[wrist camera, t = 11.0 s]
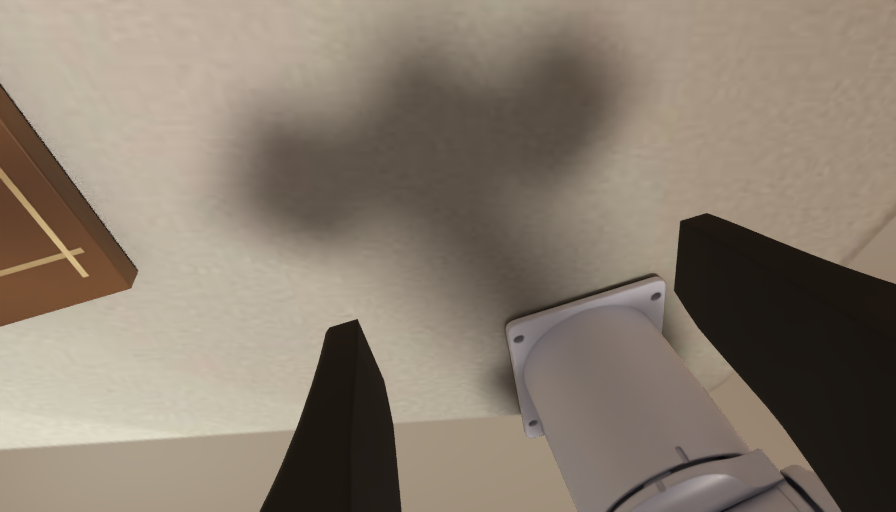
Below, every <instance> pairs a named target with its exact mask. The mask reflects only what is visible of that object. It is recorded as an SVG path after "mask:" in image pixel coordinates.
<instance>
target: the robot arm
mask: <svg viewBox="0 0 896 512" xmlns="http://www.w3.org/2000/svg"><path fill="white" fill-rule="evenodd" d="M665 287H666V285H665V282H664V281H663V280H662V279H661V278H660V277H651V278H648V279H645V280H642V281H638V282H635V283H632V284H629V285H626V286H622V287H619V288H616V289H613V290H609V291H606V292H603V293H600V294H596V295H593V296H590V297H587V298H583V299H580V300H577V301H574V302H570V303H567V304H564V305H561V306H557V307H554V308H551V309H548V310H544V311H541V312H538V313H535V314H531V315H528V316H525V317H522V318H518V319H515V320H513V321H511V322H509V323H508V324H507V326H506V335H507V341H508V346H509V351H510V357H511V362H512V367H513V373H514V378H515V383H516V389H517V394H518V399H519V404H520V410H521V415H522V420H523V425H524V431H525V433H526V436H527V437H529V438H536V437H539V436H542V435H545V436H546V439H547V441H548V443H549V446H550V448H551V450H552V452H553V455H554V457H555V460H556V462H557V464H558V467H559V469H560V471H561V474H562V476H563V478H564V480H565V483H566V485H567V487H568V490H569V492H570V495H571V497H572V499H573V501H574V504H575V506H576V509H577V511H578V512H896V284H894V283H891V282H888V281H884V280H881V279H878V278H875V277H872V276H870V275H867V274H864V273H861V272H858V271H855V270H852V269H849V268H846V267H843V266H841V265H838V264H835V263H833V262H830V261H827V260H824V259H822V258H819V257H817V256H814V255H811V254H809V253H806V252H804V251H801V250H799V249H796V248H794V247H791V246H789V245H786V244H784V243H781V242H779V241H776V240H774V239H771V238H769V237H766V236H764V235H762V234H759V233H757V232H754V231H752V230H749V229H747V228H744V227H742V226H740V225H737V224H735V223H732V222H730V221H727V220H724V219H722V218H719V217H716V216H714V215H711V214H708V213H705V214H702V215H699V216H695V217H692V218H689V219H686V220H682V221H680V230H679V241H678V252H677V263H676V274H675V285H674V291H675V293H676V294H677V296H678V298H679V299H680V301H681V302H682V304H683V306H684V307H685V309H686V310H687V312H688V313H689V315H690V316H691V318H692V319H693V321H694V322H695V324H696V325H697V327H698V328H699V329H700V330H701V332H702V333H703V334H704V335H705V336H706V338H707V339H708V340H709V341H710V342H711V343H712V345H713V346H714V347H715V348H716V349H717V350H718V352H719V353H720V354H721V355H722V356H723V357H724V358H725V360H726V361H727V362H728V363H729V364H730V365H731V366H732V368H733V369H734V370H735V371H736V372H737V373H738V374H739V376H740V377H741V378H742V379H743V380H744V381H745V382H746V383H747V385H748V386H749V387H750V388H751V389H752V390H753V392H754V393H755V394H756V395H757V396H758V397H759V398H760V400H761V401H762V402H763V403H764V404H765V405H766V406H767V408H768V409H769V410H770V411H771V413H772V414H773V415H774V416H775V417H776V419H777V420H778V421H779V422H780V424H781V425H782V426H783V428H784V429H785V430H786V431H787V433H788V435H789V436H790V437H791V439H792V440H793V442H794V443H795V444H796V446H797V447H798V449H799V450H800V451H801V453H802V454H803V456H804V457H805V459H806V460H807V461H808V463H809V464H810V466H811V467H812V468H813V470H814V471H815V472H813V471H810V470H806V469H805V468H803V467H801V466H799V465H790V466H788V467H786V468H784V469H782V470H780V472H779V470H778V469H777V468H776V467H775V465H774V464H773V463H772V462H771V460H770V459H769V458H768V457H767V455H766V454H765V453H764V452H763V450H762V449H756V450H754V451H752V450H751V449H750V448H749V446H748V445H747V444H746V442H745V441H744V440H743V438H742V437H741V436H740V435H739V433H738V432H737V431H736V429H735V428H734V427H733V426H732V424H731V423H730V422H729V421H728V419H727V418H726V416H725V415H724V414H723V413H722V411H721V410H720V409H719V407H718V406H717V405H716V404H715V402H714V401H713V400H712V398H711V397H710V396H709V395H708V393H707V392H706V391H705V389H704V388H703V387H702V386H701V384H700V383H699V382H698V380H697V379H696V378H695V376H694V375H693V374H692V373H691V371H690V370H689V369H688V367H687V366H686V365H685V364H684V362H683V361H682V360H681V358H680V357H679V356H678V355H677V353H676V352H675V351H674V349H673V348H672V347H671V346H670V344H669V343H668V342H667V340H666V339H665V338H664V337H663V335H662V326H663V313H664V300H665ZM518 335H520V336H518ZM516 336H518V337H516ZM260 512H401V501H400V490H399V480H398V468H397V458H396V448H395V437H394V427H393V421H392V416H391V411H390V406H389V401H388V397H387V392H386V387H385V383H384V379H383V377H382V375H381V372H380V370H379V368H378V365H377V363H376V361H375V358H374V356H373V354H372V352H371V349H370V347H369V345H368V342H367V340H366V338H365V335H364V333H363V331H362V328H361V326H360V324H359V321H358V319H356V320H353V321H350V322H346V323H343V324H340V325H336V326H333V327H330V328H329V329H328V330H327V332H326V334H325V339H324V343H323V347H322V351H321V355H320V358H319V362H318V366H317V369H316V372H315V376H314V379H313V382H312V385H311V388H310V391H309V394H308V397H307V400H306V403H305V406H304V409H303V412H302V415H301V418H300V420H299V423H298V426H297V428H296V431H295V433H294V436H293V438H292V441H291V443H290V446H289V448H288V451H287V453H286V456H285V458H284V460H283V463H282V465H281V468H280V470H279V472H278V474H277V476H276V478H275V481H274V483H273V485H272V487H271V489H270V491H269V493H268V495H267V497H266V499H265V501H264V503H263V506H262V508H261V510H260Z"/></svg>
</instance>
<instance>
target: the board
mask: <svg viewBox="0 0 896 512" xmlns="http://www.w3.org/2000/svg"><path fill="white" fill-rule="evenodd" d="M136 275H137V271H136V269H135V268H134V266H133V265H132V264H131V262H130V261H129V260H128V258H127V257H126V256H125V254H124V253H123V252H122V250H121V249H120V248H119V246H118V245H117V243H116V242H115V241H114V239H113V238H112V237H111V235H110V234H109V233H108V231H107V230H106V229H105V227H104V226H103V225H102V223H101V222H100V221H99V219H98V218H97V216H96V215H95V214H94V212H93V211H92V210H91V208H90V207H89V206H88V204H87V203H86V202H85V200H84V199H83V198H82V196H81V195H80V193H79V192H78V191H77V189H76V188H75V187H74V185H73V184H72V183H71V181H70V180H69V179H68V177H67V176H66V175H65V173H64V172H63V171H62V169H61V168H60V166H59V165H58V164H57V162H56V161H55V160H54V158H53V157H52V156H51V154H50V153H49V152H48V150H47V149H46V148H45V146H44V145H43V143H42V142H41V141H40V139H39V138H38V137H37V135H36V134H35V133H34V131H33V130H32V129H31V127H30V126H29V125H28V123H27V122H26V121H25V119H24V118H23V116H22V115H21V114H20V112H19V111H18V110H17V108H16V107H15V106H14V104H13V103H12V102H11V100H10V99H9V98H8V96H7V95H6V93H5V92H4V91H3V89H2V88H1V87H0V327H1V326H4V325H8V324H11V323H14V322H18V321H21V320H25V319H28V318H31V317H35V316H38V315H42V314H45V313H49V312H52V311H55V310H59V309H62V308H66V307H69V306H72V305H76V304H79V303H83V302H86V301H90V300H93V299H96V298H100V297H103V296H107V295H110V294H113V293H117V292H120V291H124V290H127V289H130V288H131V287H132V285H133V283H134V280H135V278H136Z"/></svg>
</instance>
